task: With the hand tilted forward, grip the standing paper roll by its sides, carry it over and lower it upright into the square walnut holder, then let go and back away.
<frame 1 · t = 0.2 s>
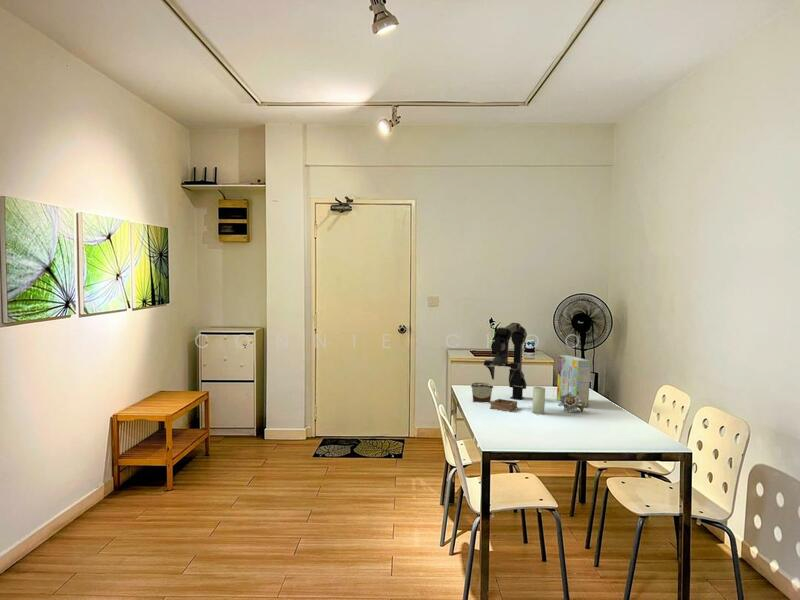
hand: (501, 380, 306), 14 cm above the table, tool pointing down, fingers open, 9 cm apart
food container: (481, 401, 320), on the table
paper roll: (538, 413, 296), on the table
snack box: (572, 403, 323), on the table
holder: (503, 408, 304), on the table
passion flower: (570, 411, 303), on the table
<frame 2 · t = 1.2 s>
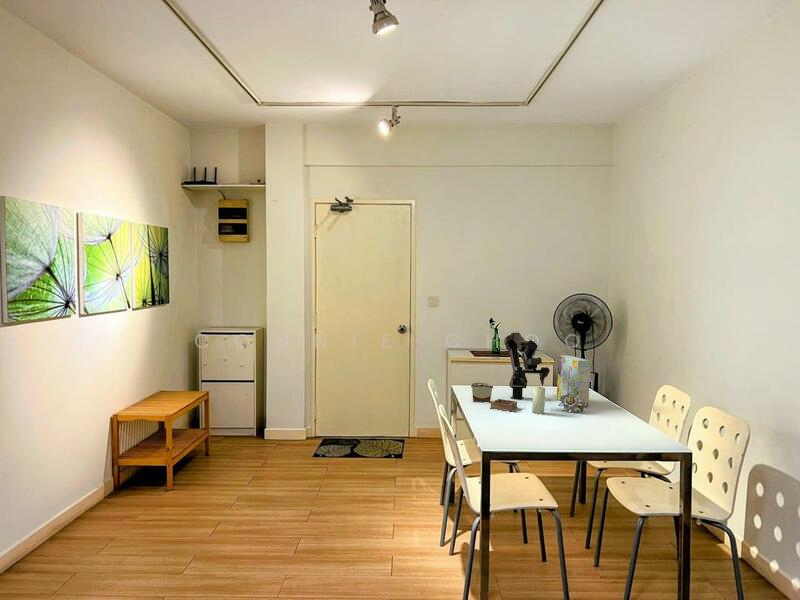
hand: (534, 385, 303), 13 cm above the table, tool tilted 45°, fingers open, 9 cm apart
nothing on the table moved.
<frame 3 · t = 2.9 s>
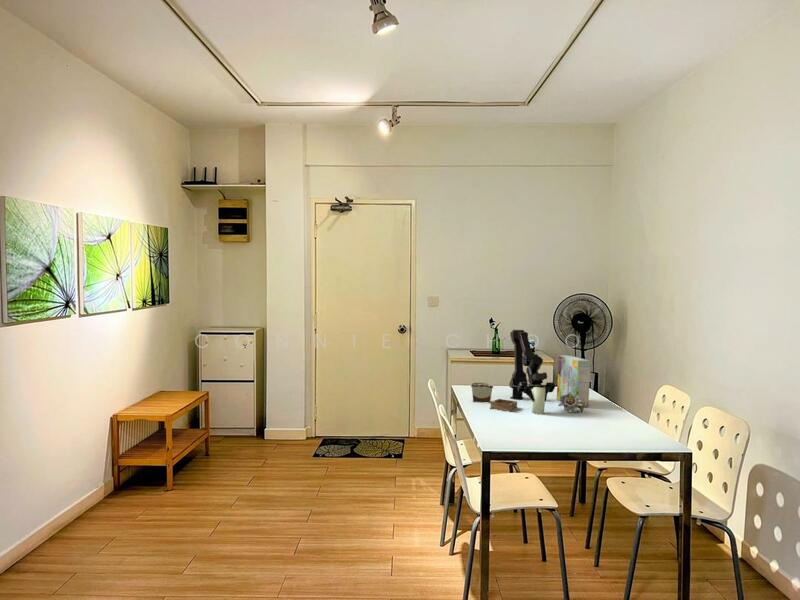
hand: (539, 400, 294), 7 cm above the table, tool tilted 45°, fingers closed on paper roll, 6 cm apart
paper roll: (538, 413, 296), on the table, touching gripper
everything else where it was.
when the fingers open (8 cm above the table, at t = 6.7 s): paper roll drops 1 cm, resting on holder.
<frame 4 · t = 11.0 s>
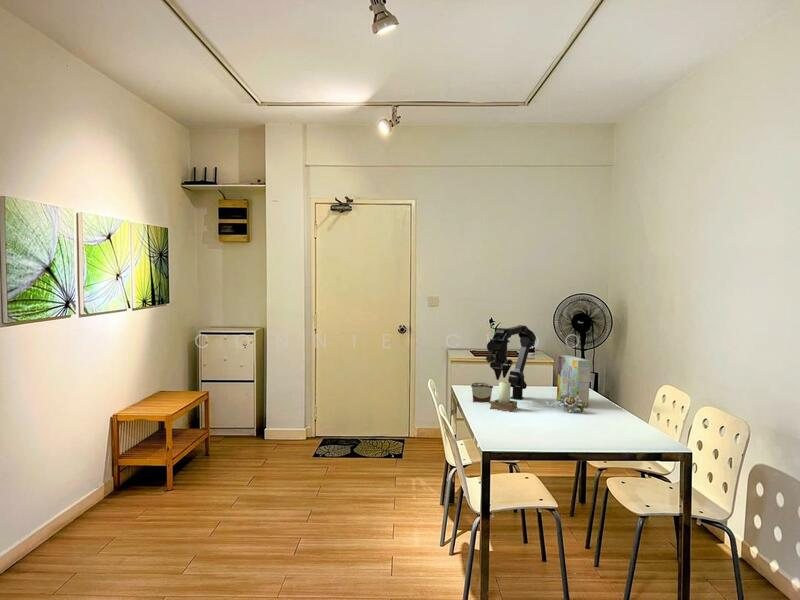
hand: (500, 378, 319), 13 cm above the table, tool pointing down, fingers open, 9 cm apart
paper roll: (503, 407, 304), point 1 cm above the table, touching holder
everything else where it was.
at the end: paper roll 0.0 cm off-centre on the holder, point 0.6 cm above the holder's base; paper roll tilted 0°; the gripper is holding nothing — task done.
